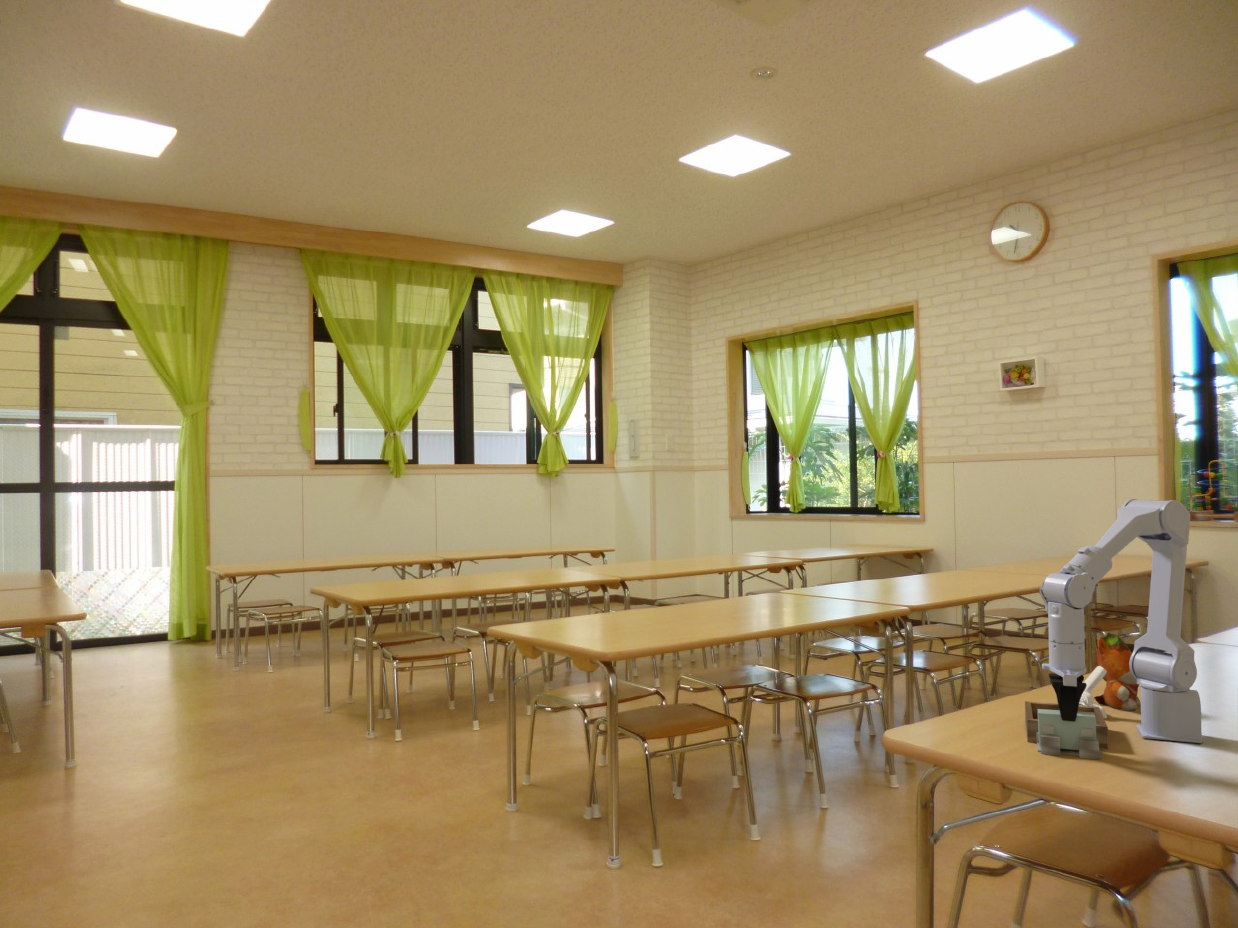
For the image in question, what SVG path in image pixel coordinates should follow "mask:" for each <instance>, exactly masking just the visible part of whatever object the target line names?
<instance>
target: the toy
mask: <svg viewBox="0 0 1238 928" xmlns="http://www.w3.org/2000/svg"><path fill="white" fill-rule="evenodd" d="M1096 646H1097V648H1096V652H1095V662H1096V667H1097V666H1101V667H1103V668H1104V669H1105V670H1106V671H1107V672H1106V674H1105V676H1104V677H1103V678H1102V679H1103V681H1104V682H1106V685H1105V688H1104V691H1103V693H1102V694H1101V695H1096V696H1094V697H1093V698H1094V701H1095V702H1097V704H1099V705H1104V706H1108V707H1110V708H1113V709H1117V710H1122V711H1128V712H1136V710H1137V707H1139V706H1141V699H1140V698H1139V697H1138V693H1139V687H1140V685H1139V684H1137V679H1136V678H1134V677H1133V675H1132V674H1131V671H1130V667H1129V661H1130V657H1131V655H1132V653H1133V651H1131V649H1129V647H1128V646H1127V644H1126V643H1125V641H1123V640H1122V639H1121V637H1120V636H1118V635H1117V634H1116V633H1110V632H1107V633H1106V634H1105V635H1104V636H1103V637H1102V636H1100V637H1099V638H1098V639H1097V642H1096Z"/></svg>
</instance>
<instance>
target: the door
mask: <svg viewBox="0 0 1238 928" xmlns="http://www.w3.org/2000/svg"><path fill="white" fill-rule="evenodd" d="M1038 730H1039V745H1040V747H1041V735H1047V736H1058V737H1060V749H1072V750H1079V739H1089V740H1096V720H1095V715H1094V712H1079V711H1078V712H1077V717H1076V720H1075V722H1073V721H1063V720H1062V718H1061V715H1060V710H1047V709H1038Z"/></svg>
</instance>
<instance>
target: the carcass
mask: <svg viewBox="0 0 1238 928" xmlns="http://www.w3.org/2000/svg"><path fill="white" fill-rule="evenodd" d="M1024 709H1025V710H1024V715H1025V716H1024V718H1025V719H1024V722H1025V729H1026V730H1025V732H1026V740H1027V742H1029V743H1036V746H1037V747H1036V748H1037V752H1039V753H1040V754H1042V755H1052V756H1061V755H1069V756H1078V757H1079V758H1083V759H1091V760H1092V759H1093V760H1100V759H1102V758H1103V757H1102V753H1101V751H1100V749H1101V750H1109V738H1108V737H1109V736H1108V734H1109V733H1108V730H1109V727H1108V725H1107V722H1106V721H1105V719H1104V717H1103V715H1102V713H1101V710H1100V708H1099V707H1089V706H1079V707H1078V711H1079V712H1094V715H1095V720H1096V740H1089V739H1079V750H1072V749H1060V737H1058V736H1047V735H1041V747H1040V745H1039V730H1038V709H1047V710H1059V707H1058V703H1053V702H1052V703H1050V702H1037V701H1029V700H1028V701H1024Z"/></svg>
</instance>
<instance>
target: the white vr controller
mask: <svg viewBox="0 0 1238 928" xmlns="http://www.w3.org/2000/svg"><path fill="white" fill-rule="evenodd" d="M1106 672H1107V671H1106V670H1105V669H1104V668H1103V667H1101V666H1097V665H1096V666H1095V668H1094V669H1093V671H1092V672H1091V673H1090V675H1088V677H1086V679H1084V681H1083V683H1086V685H1087V686H1086V688H1085V690H1084V692H1083V694H1082V696H1081V699H1080V702H1079V706H1089V707H1099V708H1100V710H1101V713H1102V715H1103V717H1104V720H1105V719H1107V718H1108V715H1107V712H1106V710H1105V708H1104V707H1103V706H1100V704H1099V705H1098V704H1095V703H1094V702H1095V699H1094V697H1093V695H1092V694H1091V693H1092V691H1093V690H1094V689H1095V688H1096V687H1097V685H1098V684H1099V683H1100V681H1102V679H1103V677H1104V676H1105V674H1106Z"/></svg>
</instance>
